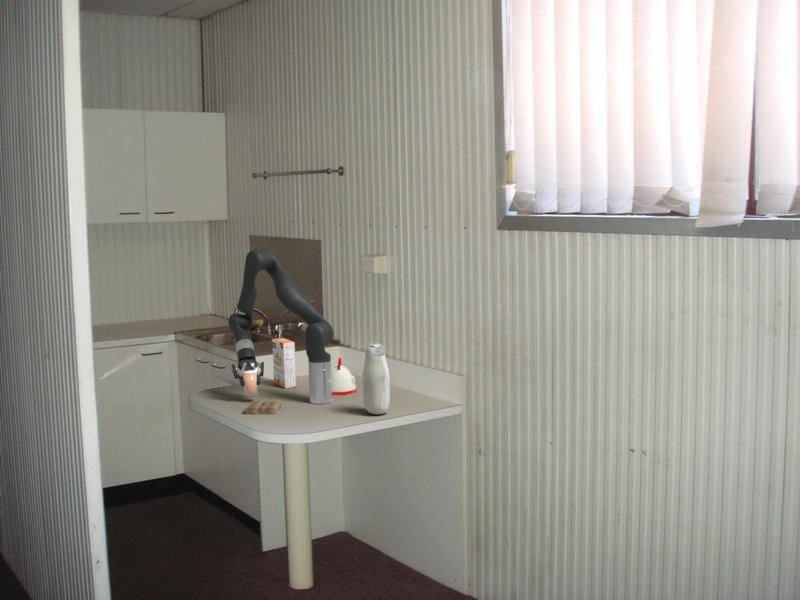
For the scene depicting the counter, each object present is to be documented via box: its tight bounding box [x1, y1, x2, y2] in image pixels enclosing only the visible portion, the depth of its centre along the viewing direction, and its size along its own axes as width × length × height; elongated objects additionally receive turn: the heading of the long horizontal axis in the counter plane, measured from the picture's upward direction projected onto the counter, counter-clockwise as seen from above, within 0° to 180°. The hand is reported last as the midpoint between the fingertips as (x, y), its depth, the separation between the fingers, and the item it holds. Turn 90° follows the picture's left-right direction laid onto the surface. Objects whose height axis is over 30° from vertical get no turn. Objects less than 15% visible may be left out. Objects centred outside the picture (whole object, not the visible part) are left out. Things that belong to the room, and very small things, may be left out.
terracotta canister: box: [242, 369, 259, 397], centre depth 387 cm, size 6×6×10 cm
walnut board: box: [245, 400, 282, 415], centre depth 370 cm, size 12×12×2 cm
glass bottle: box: [362, 342, 391, 416], centre depth 360 cm, size 10×10×28 cm
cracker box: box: [271, 337, 297, 390], centre depth 418 cm, size 14×6×21 cm, turn 28°
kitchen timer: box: [331, 357, 357, 396], centre depth 402 cm, size 14×14×15 cm
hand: (250, 384), depth 385 cm, fingers closed on terracotta canister, 5 cm apart
